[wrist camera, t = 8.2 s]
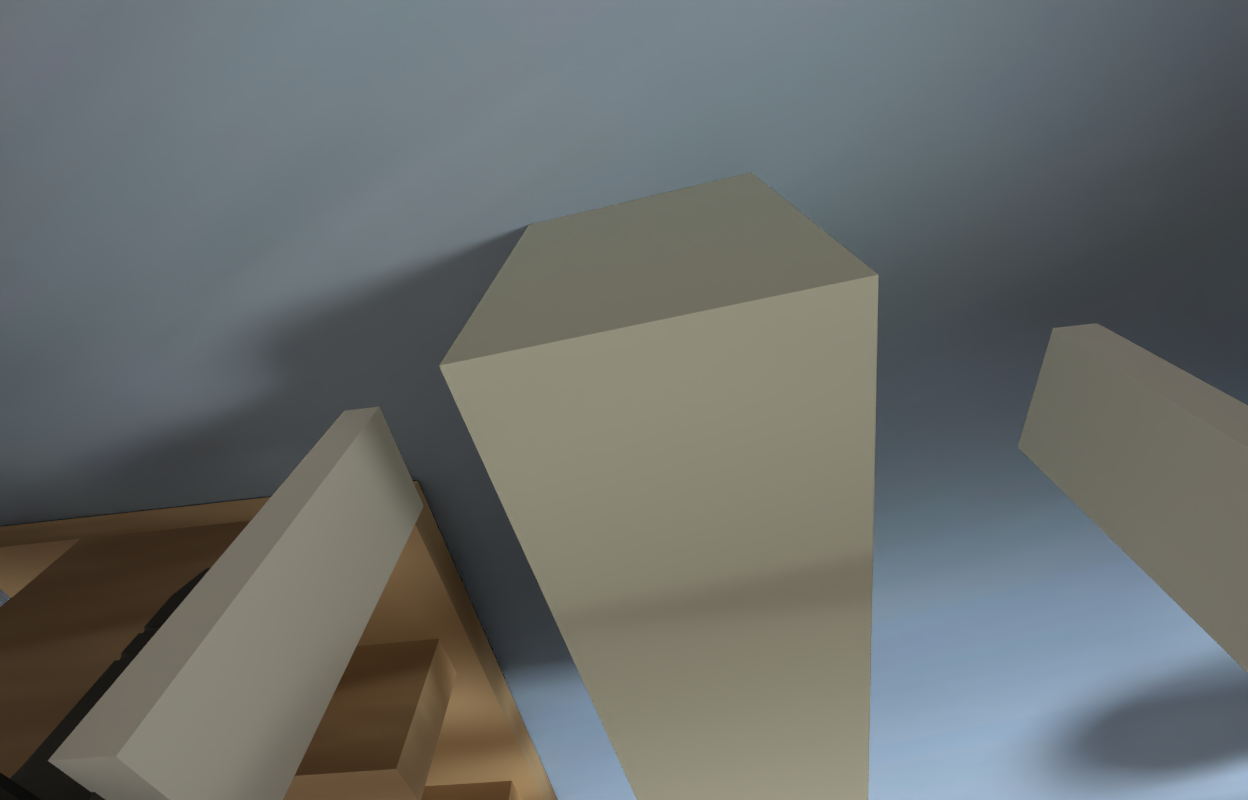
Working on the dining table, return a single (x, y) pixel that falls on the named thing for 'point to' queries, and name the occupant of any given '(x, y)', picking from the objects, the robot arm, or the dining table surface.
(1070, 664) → the dining table surface
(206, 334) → the dining table surface
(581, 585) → the block
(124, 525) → the rack
